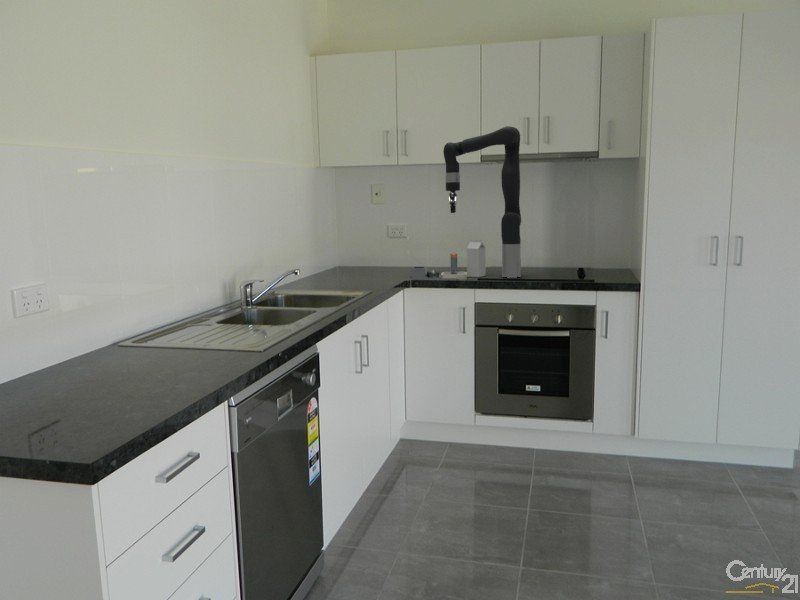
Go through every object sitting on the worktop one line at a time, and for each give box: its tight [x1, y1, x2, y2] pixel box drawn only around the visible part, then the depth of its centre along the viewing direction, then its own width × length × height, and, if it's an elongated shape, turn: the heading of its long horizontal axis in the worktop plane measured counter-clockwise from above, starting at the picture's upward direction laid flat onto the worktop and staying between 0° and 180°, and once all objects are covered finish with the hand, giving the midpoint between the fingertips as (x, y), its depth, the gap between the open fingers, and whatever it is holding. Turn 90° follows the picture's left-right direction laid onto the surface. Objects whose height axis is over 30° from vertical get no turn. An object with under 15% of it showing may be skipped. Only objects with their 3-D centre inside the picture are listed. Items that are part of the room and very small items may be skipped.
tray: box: [440, 271, 468, 282], centre depth 343 cm, size 13×12×3 cm
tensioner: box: [411, 266, 441, 279], centre depth 345 cm, size 14×10×6 cm
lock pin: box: [450, 253, 458, 274], centre depth 342 cm, size 3×3×12 cm
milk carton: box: [466, 239, 486, 278], centre depth 350 cm, size 7×7×19 cm
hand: (453, 212), depth 355 cm, fingers open, 8 cm apart
